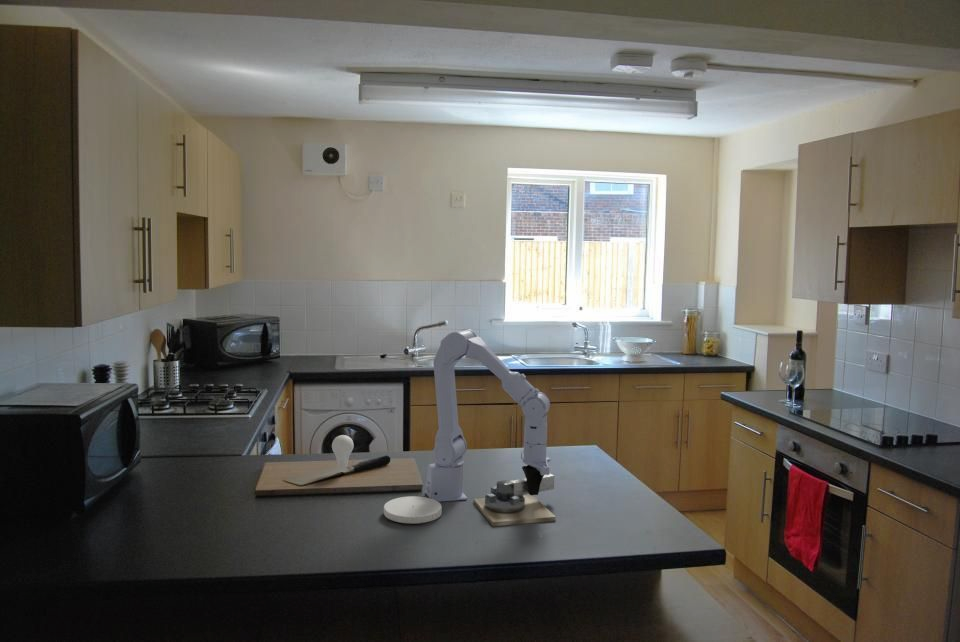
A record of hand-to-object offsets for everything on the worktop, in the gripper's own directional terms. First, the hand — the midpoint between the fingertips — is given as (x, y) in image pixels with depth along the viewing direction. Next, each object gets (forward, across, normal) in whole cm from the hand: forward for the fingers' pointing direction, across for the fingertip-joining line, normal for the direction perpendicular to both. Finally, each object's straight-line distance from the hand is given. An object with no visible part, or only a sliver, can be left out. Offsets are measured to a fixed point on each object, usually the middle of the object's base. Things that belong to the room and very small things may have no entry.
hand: (533, 494), depth 178 cm
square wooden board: (+4, 0, +6) cm, 7 cm away
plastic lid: (+4, +2, +30) cm, 31 cm away
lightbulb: (+4, +38, +44) cm, 58 cm away
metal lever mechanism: (+3, +2, +3) cm, 4 cm away
